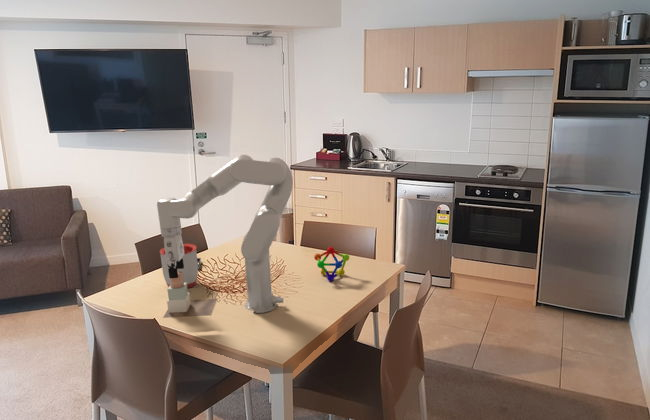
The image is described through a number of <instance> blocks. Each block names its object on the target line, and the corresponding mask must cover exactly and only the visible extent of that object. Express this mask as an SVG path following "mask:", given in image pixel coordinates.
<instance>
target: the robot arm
mask: <svg viewBox="0 0 650 420" xmlns="http://www.w3.org/2000/svg"><path fill="white" fill-rule="evenodd" d="M293 180H294V179H293V173H292V170H291V168H290V167H289V166H288V164H287V162H286V161H284V159H282V158H280V157H270V158H269V159H268V160H267V161H264V160H256V159H253V158H252V157H251V156H250V155H248V154H240V155H238V156H235V158H234V159H232V160H231V161H229V162H227V163H226V164H225V165H224V166H223V167H221V168H220V169H218V170H217V171H216V172H214V173H213V174H211V175H210V176H209V177H208V178H207V179H206V180H204V181H202V182H201V183H200V184H199V185H197V186H195V188H193V189H192V190H191V191H189V192H188V193H186V194H185V195H184V196H182V198H180V199H177V198H175V197H164V198H161V199H159V200H158V201H157V203H156V208H157V213H158V220H159V222H158V223H159V227H160V228H159V229H160V234H161V237H162V238H163V245H164V247H165V256H166V261H167V263H168V264H167V265H168V272H169V278H178V271H177V269H183V268H184V263H183V259H181V258H183V255H184V247H183V244H184V243H183V242H184V241H183V238H182V233H183V232H182V224H181V219H191V218H194V216H196V214H197V213H198V212H199V211H200V210H201V208H203V207H205V206H206V205H207V204H208V203H209V202H211V201H212V200H214V199H215V198H218V197H219V196H224V195H226V194H228V192H230V191H232V190H233V189H234V188H236V187H237V186H238V185H240V184H241V183H245V184H246V183H247V184H254V185H255V184H256V185H263V186H264V185H265V186H269V187H268V189H267V190H266V191H267V192H266V193H265V196H264V199H263V201H262V203H261V205H260V207H259V208H258V210H257V211H256V213H255V215H254V218H253V220H252V223H251V224H250V227H249V230H248V231H246V234H245V235H244V237H243V240H242V243H241V247H240V251H241V254H242V255H241V256H242V257H243V258H244V269H245V270H244V271H245V282H246V283H245V284H246V293H247V295H246V296H247V301H246V302H245V303H244V305H243V306H244V308H245V309H246V310H249V311H253V314H264V313H267V312H270V311H273V310H274V309H275V308H277V304H278V303H279V304H283V303H284V297H281V295H277V296H276V295H274V292H272V279H271V276H272V275H271V262H270V261H271V260H270V259H271V258H270V247H271V246H272V244H273V242H274V240H275V237H276V236H277V233H278V231H279V228H280V225H281V219H282V218H281V217H282V215H283V213H284V211H285V209H286V206H287V204H288V201H289V199H290V197H291V195H292V191H293V186H294V181H293ZM164 247H163V248H164ZM172 259H174V260H172ZM172 262H174V264H173V263H172Z"/></svg>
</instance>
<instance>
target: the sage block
mask: <svg viewBox="0 0 650 420" xmlns="http://www.w3.org/2000/svg"><path fill="white" fill-rule="evenodd" d="M188 293H189V291H188V288H187V283H184V286H183V287H181V288H171V285H170V286H169V287H168V288H167V296H168V298H169V300H183V299H185V298H186V296H187V294H188ZM168 298H167V299H168Z"/></svg>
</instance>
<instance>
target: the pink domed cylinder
mask: <svg viewBox="0 0 650 420" xmlns="http://www.w3.org/2000/svg"><path fill="white" fill-rule="evenodd" d="M170 285H171V288H181V287H183V286H184V280H183V273H182V272H180V271H178V278H170Z"/></svg>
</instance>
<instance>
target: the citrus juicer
mask: <svg viewBox="0 0 650 420" xmlns="http://www.w3.org/2000/svg"><path fill="white" fill-rule="evenodd" d="M183 247H184V255H183V258H181V259H183V263H184V268H183V269H177V271H180V272H182V273H183V280H184V283H187V289H190V288H193V287H194V286H195V285H196V283H197V280H198V275H199V274H198V273H199V270H198V264H199V262H197V258H198V254H197V252H198V251H197V245H195V244H193V243H183ZM159 254H160V259H161V260H160V261H161V271H162V275H163V278H164V281H165V283H166V285H167V287H168V288H169V286H170V278H169V272H168V265H167V264H168V263H167V261H166V256H165V247H163V248H160V250H159ZM172 260H174V259H172ZM172 263H173V264H174V262H172Z"/></svg>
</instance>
